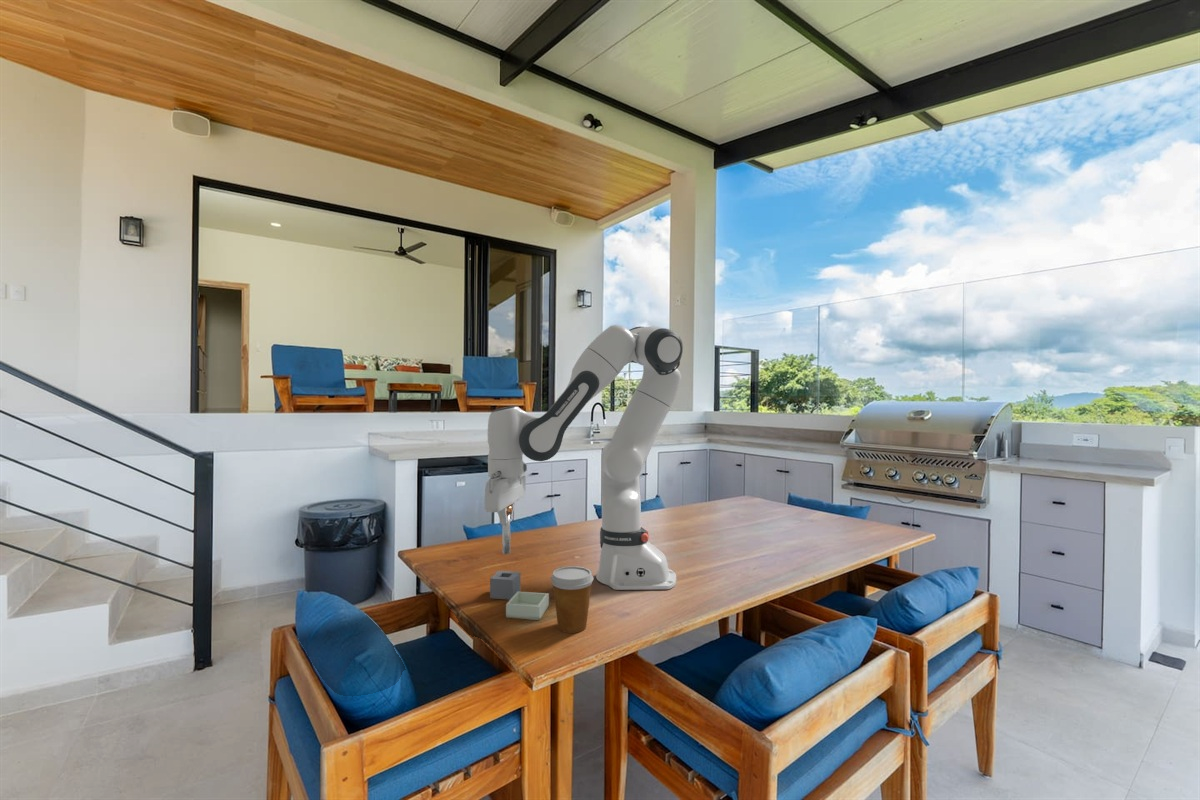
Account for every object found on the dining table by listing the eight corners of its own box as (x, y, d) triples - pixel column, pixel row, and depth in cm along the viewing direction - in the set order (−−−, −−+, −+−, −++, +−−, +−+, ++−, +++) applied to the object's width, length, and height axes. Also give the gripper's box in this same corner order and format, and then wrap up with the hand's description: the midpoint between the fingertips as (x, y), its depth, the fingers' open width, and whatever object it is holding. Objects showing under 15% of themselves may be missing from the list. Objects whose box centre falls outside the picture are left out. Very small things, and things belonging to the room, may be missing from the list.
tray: (548, 605, 122) (548, 593, 122) (539, 619, 114) (539, 606, 114) (517, 603, 124) (517, 591, 124) (506, 617, 116) (506, 604, 116)
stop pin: (514, 551, 131) (513, 505, 131) (510, 554, 128) (509, 507, 128) (502, 550, 131) (502, 505, 131) (498, 554, 128) (497, 507, 128)
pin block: (520, 590, 132) (520, 571, 132) (512, 599, 126) (512, 579, 126) (498, 589, 133) (498, 570, 133) (490, 598, 127) (490, 578, 127)
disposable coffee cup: (602, 628, 110) (602, 574, 110) (565, 641, 104) (564, 583, 104) (578, 613, 118) (578, 562, 118) (542, 624, 112) (542, 570, 112)
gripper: (502, 475, 119) (503, 533, 119) (529, 464, 139) (530, 513, 139) (477, 474, 120) (478, 532, 120) (507, 463, 140) (508, 513, 140)
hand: (506, 522), depth 129 cm, fingers closed on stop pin, 2 cm apart
